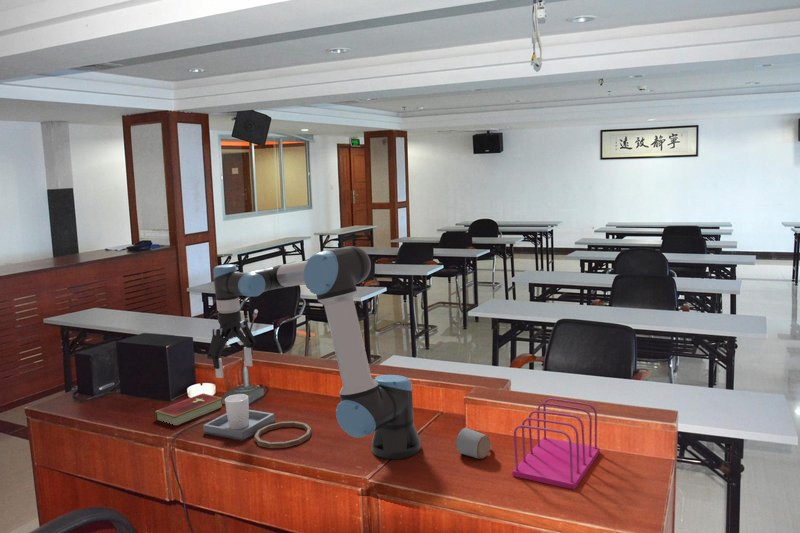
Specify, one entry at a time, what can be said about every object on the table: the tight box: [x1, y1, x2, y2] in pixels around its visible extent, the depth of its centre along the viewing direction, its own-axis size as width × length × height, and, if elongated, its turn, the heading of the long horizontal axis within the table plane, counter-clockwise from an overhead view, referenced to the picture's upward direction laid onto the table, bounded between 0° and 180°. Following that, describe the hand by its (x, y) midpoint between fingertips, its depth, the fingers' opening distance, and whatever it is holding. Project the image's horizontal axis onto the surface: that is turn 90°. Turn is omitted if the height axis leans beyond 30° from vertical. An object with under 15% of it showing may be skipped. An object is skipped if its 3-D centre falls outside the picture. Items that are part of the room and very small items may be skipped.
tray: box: [202, 409, 276, 442], centre depth 228 cm, size 17×17×3 cm
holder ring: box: [253, 420, 312, 449], centre depth 218 cm, size 18×18×2 cm
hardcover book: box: [154, 393, 223, 426], centre depth 244 cm, size 12×21×4 cm, turn 144°
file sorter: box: [512, 397, 601, 490], centre depth 187 cm, size 17×25×16 cm
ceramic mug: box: [455, 427, 492, 460], centre depth 197 cm, size 11×8×8 cm
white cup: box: [224, 393, 250, 429], centre depth 227 cm, size 8×8×10 cm
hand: (234, 371), depth 225 cm, fingers open, 13 cm apart
